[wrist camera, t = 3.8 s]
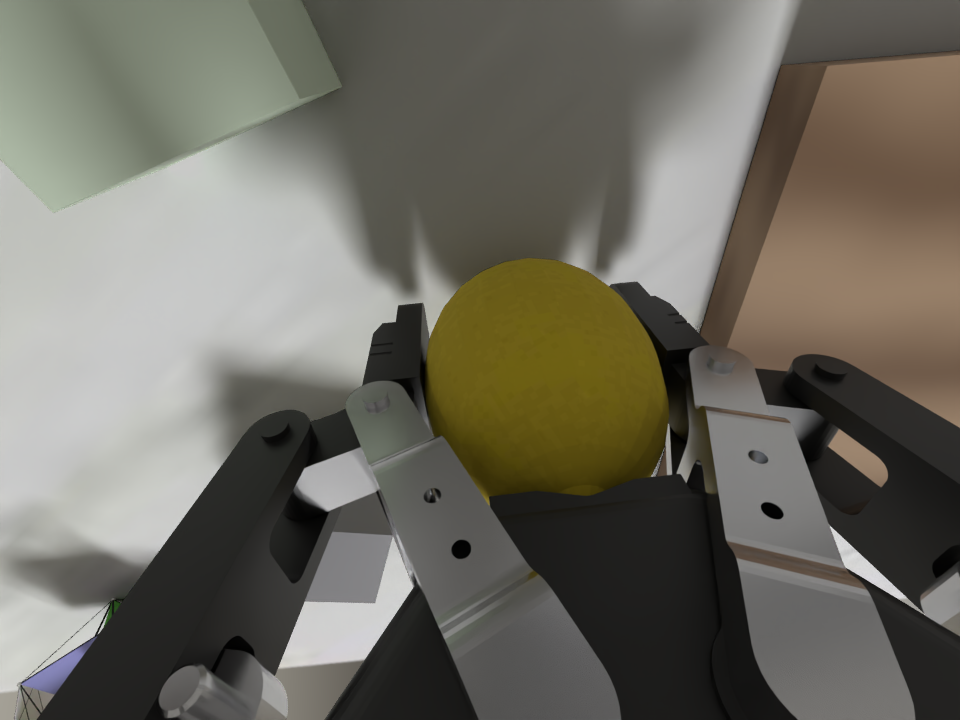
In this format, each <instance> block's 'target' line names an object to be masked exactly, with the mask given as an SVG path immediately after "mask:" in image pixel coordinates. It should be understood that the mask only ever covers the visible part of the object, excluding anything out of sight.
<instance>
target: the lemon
mask: <svg viewBox="0 0 960 720" xmlns="http://www.w3.org/2000/svg"><path fill="white" fill-rule="evenodd" d="M424 391H425V399H426V405H427V409H428V414H429V419H430V424H431V428H432V432H433V435H434V437H437V436H439V435H441V436H443V437H444V438H445V440H446V441H447V442H448V444H449V445H450V447H451V448H452V450H453V451H454V453H455V454H456V456H457V457H458V459H459V461H460V462H461V464H462V465H463V467H464V468H465V470H466V471H467V473H468V474H469V476H470V477H471V479H472V480H473V482H474V483H475V485H476V486H477V488H478V489H479V491H480V492H481V494H482V495H483V497H484V499H485V500H486V502H487V503H488V505H489V506H490V504H489V496H497V495H505V494H514V493H522V492H530V491H544V492H553V493H563V494H572V495H582V496H590V495H594V494H597V493H599V492H602V491H605V490H607V489H610V488H612V487H615V486H617V485H620V484H623V483H625V482H628V481H630V480H633V479H639V478H647V477H651V475H652V474H653V472H654V469H655V467H656V465H657V463H658V461H659V459H660V456H661V454H662V452H663V449H664V447H665V442H666V436H667V428H668V419H669V403H668V396H667V391H666V386H665V382H664V378H663V375H662V371H661V367H660V363H659V360H658V357H657V353H656V351H655V348H654V346H653V343H652V341H651V339H650V337H649V335H648V333H647V332H646V330H645V329H644V327H643V326H642V324H641V323H640V321H639V320H638V318H637V317H636V316H635V314H634V313H633V311H632V310H631V308H630V307H629V306H628V304H627V303H626V302H625V301H624V299H623V298H622V297H621V296H620V295H619V294H618V293H616V292H615V291H614V290H613V289H612V288H610V287H609V286H607V285H606V284H605V283H603V282H602V281H601V280H599V279H598V278H596V277H595V276H594V275H592V274H591V273H589V272H587V271H585V270H583V269H580V268H578V267H575V266H572V265H569V264H567V263H564V262H561V261H558V260H549V259H536V258H525V259H519V260H513V261H507V262H503V263H501V264H498V265H496V266H494V267H491V268H489V269H486V270H484V271H482V272H480V273H479V274H478V275H476V276H475V277H473V278H472V279H471V280H469V281H468V282H467V283H465V284H464V285H463V286H461V287H460V288H459V290H458V291H457V292H456V293H455V294H454V296H453V297H452V298H451V299H450V300H449V302H448V303H447V304H446V305H445V306H444V308H443V310H442V312H441V314H440V316H439V318H438V320H437V323H436V325H435V327H434V329H433V331H432V334H431V336H430V339H429V343H428V348H427V356H426V363H425V372H424Z"/></svg>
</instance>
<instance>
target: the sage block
mask: <svg viewBox="0 0 960 720" xmlns="http://www.w3.org/2000/svg"><path fill="white" fill-rule="evenodd" d="M341 87H342V85H341V83H340V81H339V79H338V76H337V74H336V72H335V70H334V68H333V66H332V64H331V62H330V59H329V57H328V55H327V53H326V51H325V49H324V47H323V45H322V43H321V40H320V38H319V36H318V34H317V32H316V30H315V28H314V26H313V23H312V21H311V19H310V17H309V15H308V13H307V11H306V9H305V6H304V4H303V2H302V0H0V160H1V161H2V162H3V163H4V164H5V165H6V166H7V167H8V168H9V169H10V170H11V171H12V172H13V173H14V174H15V175H16V176H17V177H18V178H19V179H20V180H21V181H22V182H23V183H24V184H25V185H26V186H27V187H28V188H29V189H30V190H31V191H32V192H33V193H34V194H35V195H36V196H37V197H38V198H39V199H40V200H41V201H42V202H43V203H44V204H45V205H46V206H47V207H48V208H49V209H50V210H51V211H52V212H53V213H55V212H57V211H60V210H62V209H65V208H67V207H70V206H72V205H75V204H77V203H80V202H82V201H85V200H87V199H90V198H92V197H95V196H97V195H100V194H102V193H105V192H107V191H110V190H112V189H115V188H117V187H120V186H122V185H125V184H127V183H130V182H132V181H135V180H137V179H140V178H142V177H145V176H147V175H150V174H152V173H154V172H157V171H159V170H162V169H164V168H167V167H169V166H171V165H173V164H176V163H178V162H180V161H182V160H184V159H186V158H189V157H191V156H193V155H195V154H197V153H200V152H202V151H204V150H206V149H208V148H210V147H213V146H215V145H217V144H219V143H221V142H223V141H226V140H228V139H230V138H232V137H234V136H237V135H239V134H241V133H243V132H245V131H247V130H250V129H252V128H254V127H256V126H258V125H260V124H263V123H265V122H267V121H269V120H271V119H274V118H276V117H278V116H280V115H282V114H284V113H287V112H289V111H291V110H293V109H295V108H297V107H300V106H302V105H304V104H306V103H308V102H311V101H313V100H315V99H317V98H319V97H321V96H324V95H326V94H328V93H330V92H332V91H334V90H337V89H339V88H341Z"/></svg>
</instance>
